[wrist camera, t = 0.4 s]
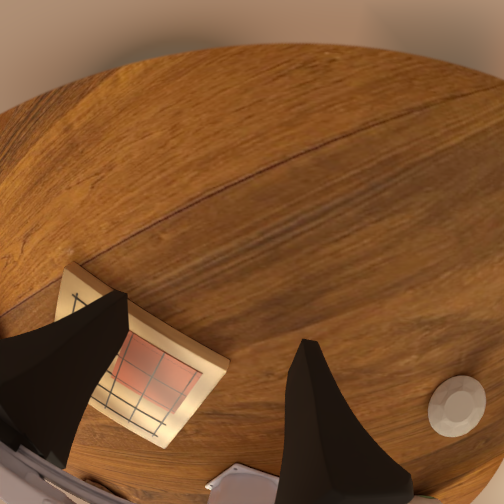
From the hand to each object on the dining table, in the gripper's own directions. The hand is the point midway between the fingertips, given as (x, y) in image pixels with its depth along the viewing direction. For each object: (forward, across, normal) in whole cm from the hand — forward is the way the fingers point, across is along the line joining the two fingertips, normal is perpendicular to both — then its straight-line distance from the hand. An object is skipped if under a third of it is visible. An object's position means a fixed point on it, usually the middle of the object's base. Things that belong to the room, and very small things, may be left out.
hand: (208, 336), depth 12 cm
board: (+8, +9, +16) cm, 20 cm away
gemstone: (+8, -23, +10) cm, 27 cm away
